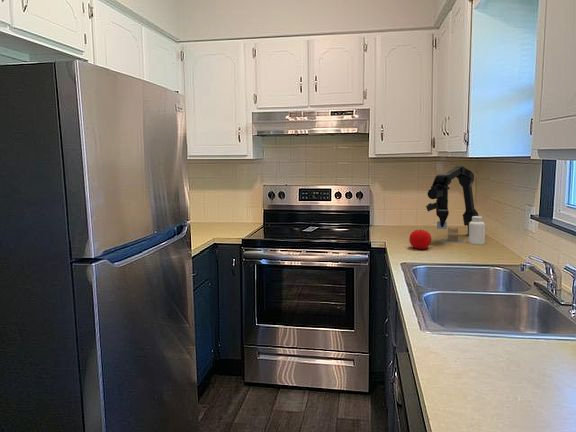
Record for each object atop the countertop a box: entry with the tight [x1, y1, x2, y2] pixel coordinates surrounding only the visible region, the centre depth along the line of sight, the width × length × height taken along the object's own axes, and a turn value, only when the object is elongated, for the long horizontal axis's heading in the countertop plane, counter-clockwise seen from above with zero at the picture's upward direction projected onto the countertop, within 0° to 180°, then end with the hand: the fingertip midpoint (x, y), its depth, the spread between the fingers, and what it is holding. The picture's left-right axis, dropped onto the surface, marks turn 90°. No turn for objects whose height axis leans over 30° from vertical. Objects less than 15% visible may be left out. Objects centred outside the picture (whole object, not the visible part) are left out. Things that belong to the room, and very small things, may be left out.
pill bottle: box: [468, 215, 486, 245], centre depth 253 cm, size 8×8×15 cm
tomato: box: [408, 229, 432, 250], centre depth 244 cm, size 11×13×10 cm
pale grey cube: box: [436, 220, 448, 230], centre depth 255 cm, size 5×5×4 cm
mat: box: [440, 238, 464, 243], centre depth 263 cm, size 11×12×1 cm
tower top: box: [447, 226, 459, 236], centre depth 262 cm, size 5×5×4 cm
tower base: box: [447, 234, 459, 241], centre depth 262 cm, size 5×5×4 cm
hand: (441, 226), depth 255 cm, fingers closed on pale grey cube, 5 cm apart
